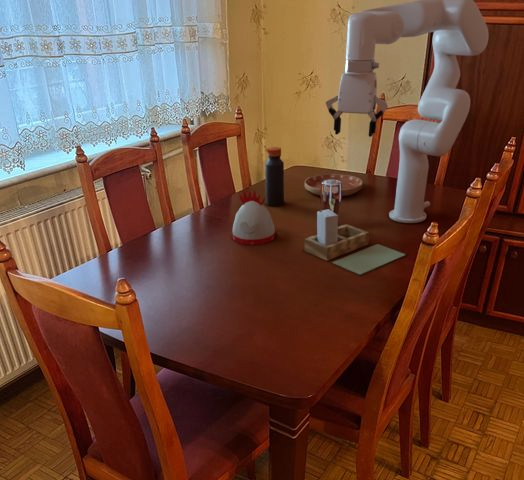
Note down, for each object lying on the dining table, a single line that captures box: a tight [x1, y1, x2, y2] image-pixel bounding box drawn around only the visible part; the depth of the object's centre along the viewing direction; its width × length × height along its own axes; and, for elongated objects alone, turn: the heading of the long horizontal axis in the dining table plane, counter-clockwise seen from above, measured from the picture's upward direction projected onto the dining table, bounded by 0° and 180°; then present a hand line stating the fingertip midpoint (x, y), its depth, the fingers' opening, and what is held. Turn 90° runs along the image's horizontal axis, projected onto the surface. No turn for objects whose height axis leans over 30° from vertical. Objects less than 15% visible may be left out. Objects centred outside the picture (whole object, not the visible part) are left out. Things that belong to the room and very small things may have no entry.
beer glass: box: [319, 179, 343, 227], centre depth 179 cm, size 7×7×15 cm
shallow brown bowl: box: [304, 173, 364, 197], centre depth 214 cm, size 23×23×4 cm
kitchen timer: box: [232, 190, 276, 246], centre depth 174 cm, size 14×14×15 cm
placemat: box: [332, 243, 407, 276], centre depth 160 cm, size 20×11×1 cm, turn 129°
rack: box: [303, 223, 370, 261], centre depth 167 cm, size 18×10×4 cm, turn 129°
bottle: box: [264, 146, 285, 207], centre depth 199 cm, size 7×7×20 cm
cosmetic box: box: [316, 210, 339, 246], centre depth 163 cm, size 6×4×12 cm
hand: (354, 134), depth 154 cm, fingers open, 9 cm apart
